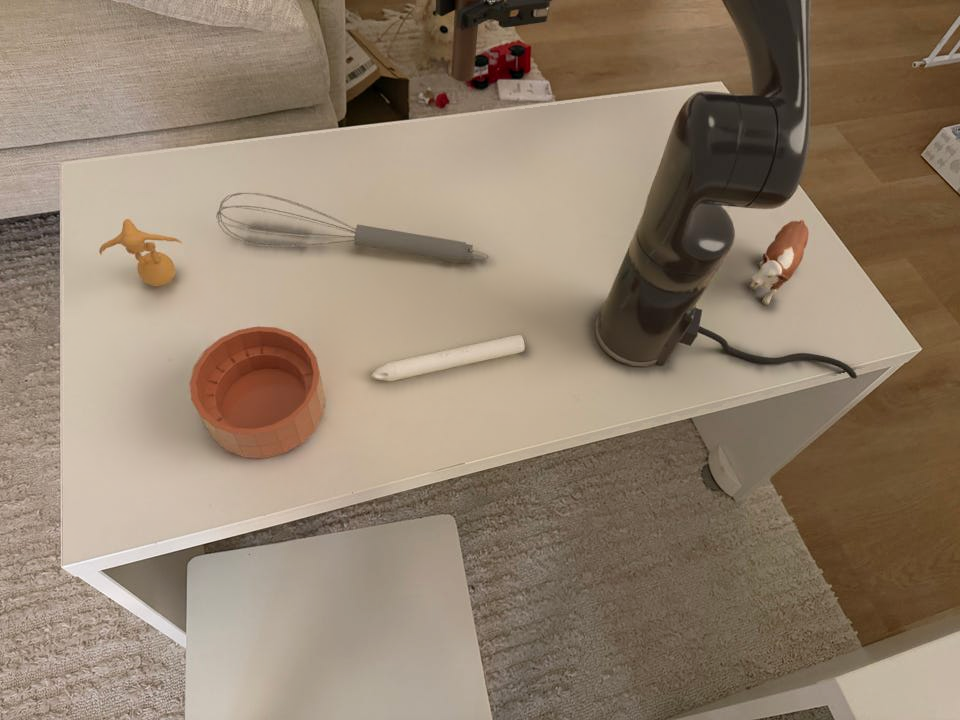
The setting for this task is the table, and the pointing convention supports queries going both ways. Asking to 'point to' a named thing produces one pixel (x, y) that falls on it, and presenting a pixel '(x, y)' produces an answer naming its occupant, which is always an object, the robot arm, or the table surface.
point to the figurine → (151, 265)
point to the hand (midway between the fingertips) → (448, 13)
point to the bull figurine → (781, 258)
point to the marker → (449, 358)
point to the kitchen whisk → (372, 237)
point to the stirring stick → (463, 48)
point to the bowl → (258, 391)
